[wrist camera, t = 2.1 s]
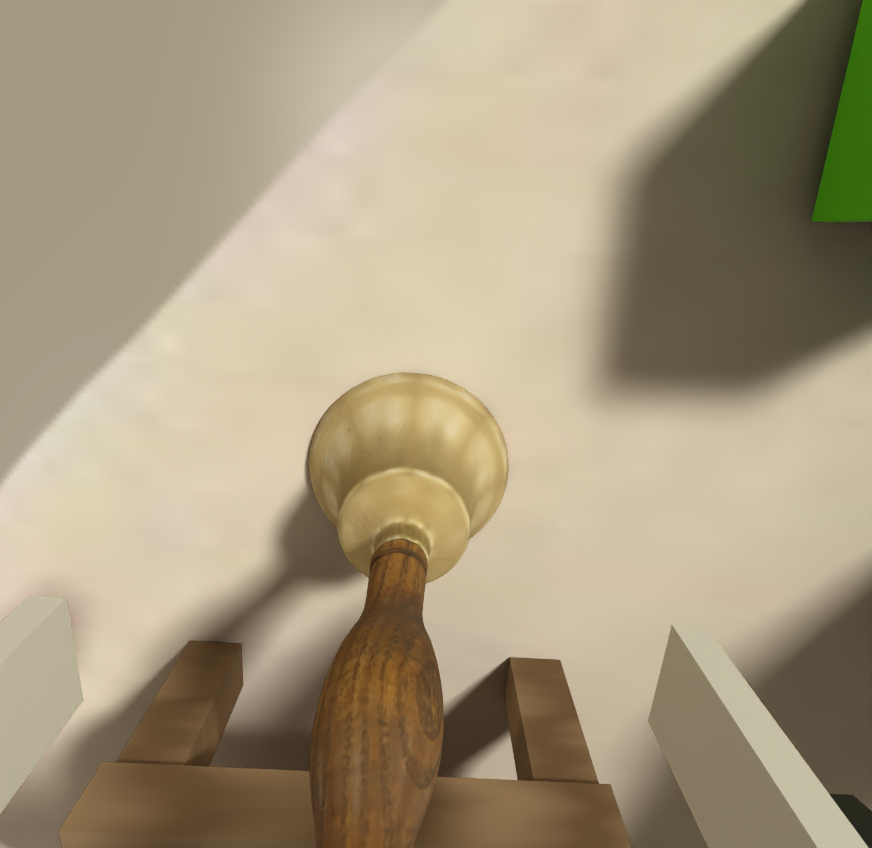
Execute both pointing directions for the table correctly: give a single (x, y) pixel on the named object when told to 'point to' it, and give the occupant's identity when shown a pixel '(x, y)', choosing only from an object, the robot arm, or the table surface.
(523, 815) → the walnut stool
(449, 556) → the hand bell
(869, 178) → the toy car
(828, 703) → the table surface
